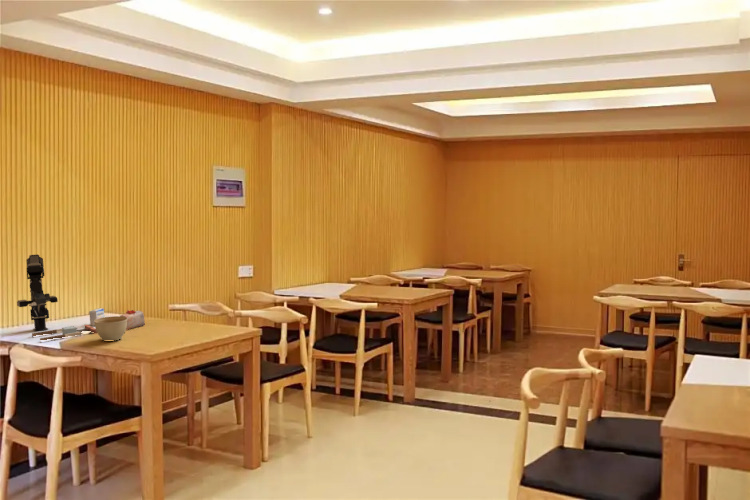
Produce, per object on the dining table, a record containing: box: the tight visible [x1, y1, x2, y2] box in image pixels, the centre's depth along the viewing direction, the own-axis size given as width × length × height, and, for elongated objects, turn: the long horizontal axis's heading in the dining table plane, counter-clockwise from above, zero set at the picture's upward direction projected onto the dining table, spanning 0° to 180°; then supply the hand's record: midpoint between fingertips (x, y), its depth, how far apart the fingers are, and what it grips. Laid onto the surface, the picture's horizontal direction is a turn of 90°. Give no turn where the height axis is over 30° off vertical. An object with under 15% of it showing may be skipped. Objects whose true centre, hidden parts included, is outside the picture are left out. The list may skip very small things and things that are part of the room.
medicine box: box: [88, 307, 105, 327], centre depth 400 cm, size 8×4×9 cm, turn 168°
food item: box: [119, 309, 146, 331], centre depth 390 cm, size 14×8×10 cm, turn 150°
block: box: [61, 325, 78, 335], centre depth 377 cm, size 6×6×4 cm
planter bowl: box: [94, 315, 128, 341], centre depth 362 cm, size 16×16×11 cm
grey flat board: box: [31, 324, 98, 341], centre depth 376 cm, size 17×28×2 cm, turn 130°
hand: (38, 317), depth 372 cm, fingers closed
